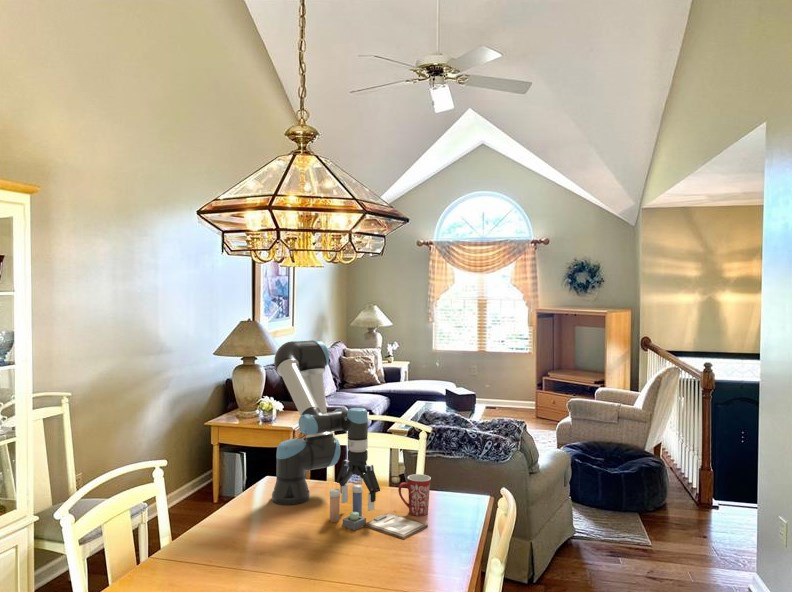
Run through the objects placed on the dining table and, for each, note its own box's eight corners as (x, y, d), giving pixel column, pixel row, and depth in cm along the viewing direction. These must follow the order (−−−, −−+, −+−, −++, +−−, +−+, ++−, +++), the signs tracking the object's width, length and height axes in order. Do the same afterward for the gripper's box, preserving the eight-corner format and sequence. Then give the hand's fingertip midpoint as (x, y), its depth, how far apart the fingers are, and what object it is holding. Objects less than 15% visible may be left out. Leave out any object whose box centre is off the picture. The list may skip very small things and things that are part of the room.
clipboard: (364, 526, 212) (364, 521, 212) (388, 515, 223) (389, 511, 223) (403, 539, 201) (403, 534, 201) (427, 526, 212) (427, 522, 212)
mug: (426, 507, 231) (427, 473, 231) (433, 515, 223) (433, 480, 223) (395, 509, 229) (395, 475, 229) (401, 518, 220) (401, 482, 220)
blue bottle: (350, 515, 222) (350, 486, 222) (356, 512, 225) (357, 484, 225) (357, 517, 220) (357, 488, 220) (364, 515, 223) (364, 486, 223)
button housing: (342, 526, 212) (342, 519, 212) (353, 521, 217) (354, 514, 217) (354, 530, 208) (354, 523, 208) (366, 525, 213) (366, 518, 213)
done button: (348, 520, 212) (348, 513, 212) (354, 517, 215) (354, 511, 215) (354, 522, 210) (354, 515, 210) (360, 519, 213) (360, 513, 213)
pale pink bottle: (327, 520, 217) (327, 490, 217) (334, 517, 220) (334, 488, 220) (334, 523, 215) (334, 492, 215) (341, 520, 218) (341, 490, 218)
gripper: (327, 446, 227) (327, 501, 227) (376, 457, 212) (376, 516, 211) (340, 443, 233) (340, 496, 233) (389, 453, 218) (389, 510, 217)
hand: (357, 506), depth 222 cm, fingers open, 13 cm apart
